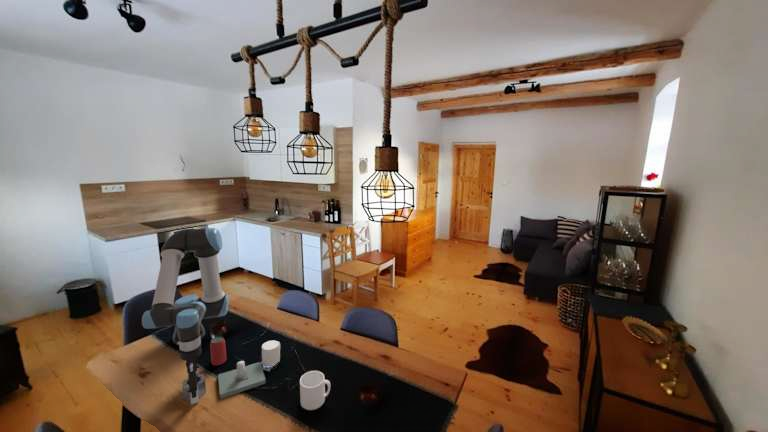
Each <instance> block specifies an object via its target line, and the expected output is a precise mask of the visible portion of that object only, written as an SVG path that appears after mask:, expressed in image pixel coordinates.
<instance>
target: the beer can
mask: <svg viewBox="0 0 768 432" xmlns="http://www.w3.org/2000/svg"><path fill="white" fill-rule="evenodd" d="M226 347H227V346H226V341H225V339H224V337H223V336H216V337H214V338H212V339H210V344H209V349H210V363H211V365H212V366H221V365H223V364H224V363H225V362H227V350H226Z"/></svg>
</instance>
